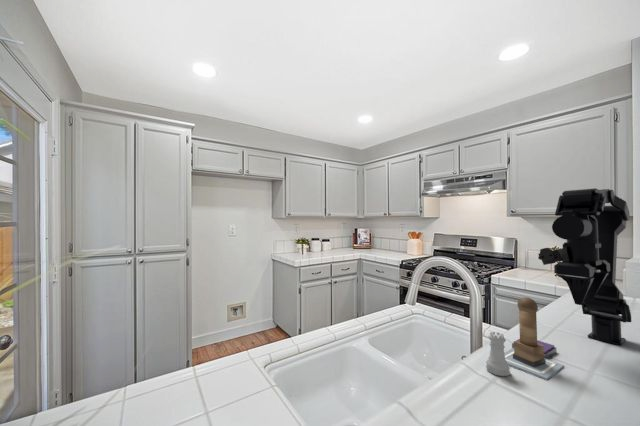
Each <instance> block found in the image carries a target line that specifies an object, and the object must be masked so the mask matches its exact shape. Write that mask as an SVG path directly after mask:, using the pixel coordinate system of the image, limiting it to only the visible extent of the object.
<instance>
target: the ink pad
mask: <svg viewBox="0 0 640 426" xmlns="http://www.w3.org/2000/svg"><path fill="white" fill-rule="evenodd" d="M518 340H520V338H518V339H516V340H515V341H518ZM537 343H538V344H540V345H543V346H544V358H545V359H548V360H549V358H550V357H552V356H553V355H555V354H557V352H558V351H557V347H556V346H555V345H554V344H551V343H548V342H544V341H541V340H538V339H537ZM512 348H514V342H512V343H511V349H512Z"/></svg>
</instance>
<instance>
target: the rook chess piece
mask: <svg viewBox="0 0 640 426" xmlns="http://www.w3.org/2000/svg"><path fill="white" fill-rule="evenodd" d="M504 336H505V335H504V334H503V333H500V332H495V331H492V332H489V335H488V337H487V338H488V339H489V340H490V342H489V346H490V351H489V356H488V357H487V358H488V359H486V360H485V363H486V365H485V368H486V370H487V371H488V372H489V373H490V374H492V375H495V376H497V377H507V376H509V375H510V374H511V371H510V368H511V366H509V365H508V364H507V361H506V360H505V355H504V353H505V348H506V346H505V345H504V344H505V342H506V341H507V340H506V338H505V337H504Z"/></svg>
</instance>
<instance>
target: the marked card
mask: <svg viewBox="0 0 640 426" xmlns="http://www.w3.org/2000/svg"><path fill="white" fill-rule="evenodd" d="M513 354H514V348H512V347H511V348H510V349H509V350H507V351H504V355H505V360H506V361H507V364H508V365H509V367H512V368H514V369H517V370H520V371H523V372H525V373H527V374H530V375H533V376H535V377H538V378H540V379H542V380H546V381H548V380H549V379H550V378H552V377H553V376H555V375H556V374H557V373H558V372H559V371H561V370H562V369H564V368H565V365H564V364H563V363H562V364H561V363H559V362H556V361H553V360H551V359H549V358H548V359H546V364H544V365H540V366H537V367H531V366H529V365H527V364H524V363H522V362H520V361H518V360H515V359H513ZM544 359H545V358H544Z"/></svg>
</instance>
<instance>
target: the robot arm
mask: <svg viewBox="0 0 640 426" xmlns="http://www.w3.org/2000/svg"><path fill="white" fill-rule="evenodd" d="M606 204H610V205H606ZM554 215H555V217H557V218H556V219H555V220H554V221H553V223H552V225H551V229H552V232H553V234H554V235H555V236H556V237H558V238H559V239H562V240H566V241H565V242H563V243H562V248H558V249H554V250H552V249H551V248H550V247H544V248H540V250H539V253H537V255H538V260H541V262H542V264H543V266H546V265H552V264H555V263H556V264H555V265H553V266H554V267H553V270H554V272H553V274H556V275H557V277H558V278H561V279H562V280H563V281H565V283H567V286H568V288H569V291H570V294H571V297H572V300H573V302H574V304H575V305H577V306H581V309H582V314H583V315H587V316H590V317H591V319H590V320H591V332H590V333H589V334H587V338H590V339H594V340H597V341H602V342H605V343H609V344H613V345H617V346H622V345H623V344H624V343H626V341H627V338H625V337H622V323H632V321H633V320H632V312H631V309H630V306H629V304H628V303H627V300H626V299H624V294H623V293H622V291H621V289H620V288H619V287H618V286H617V285H616V284H617V283H616V279H617V278H616V275H617V254H618V253H617V252H618V236H619V235H620V234H621V233H622V232H623V231H624V230H626V228H627V221H630V209H629V207H628V204H627V201H626V200H624V199H622V198H620V197H619V196H617V195H616V194H615V191H614V190H613V189H610V188H606V189H605V188H603V189H598V188H596V187H595V188H584V189H582V188H581V189H571V190H570V189H569V190H564V191H562V193H561V195H559V197H558V200H557V205H556V209H555V212H554ZM557 262H558V263H557Z"/></svg>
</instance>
